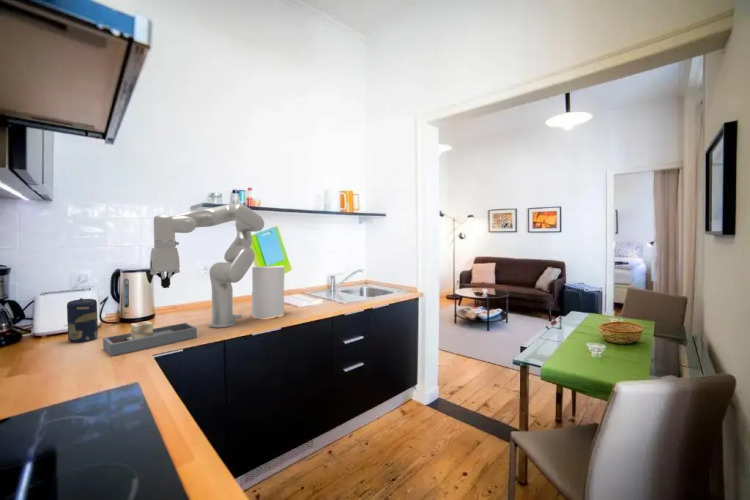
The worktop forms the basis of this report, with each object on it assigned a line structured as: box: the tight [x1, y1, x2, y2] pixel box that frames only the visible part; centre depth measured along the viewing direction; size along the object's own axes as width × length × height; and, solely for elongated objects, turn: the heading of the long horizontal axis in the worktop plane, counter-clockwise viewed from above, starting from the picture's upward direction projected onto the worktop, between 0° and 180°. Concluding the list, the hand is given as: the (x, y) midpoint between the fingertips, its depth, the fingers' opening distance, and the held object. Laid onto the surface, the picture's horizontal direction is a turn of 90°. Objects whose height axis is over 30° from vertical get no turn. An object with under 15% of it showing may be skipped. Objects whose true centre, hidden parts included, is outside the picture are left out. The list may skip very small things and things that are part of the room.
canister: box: [66, 297, 99, 343], centre depth 138 cm, size 10×10×18 cm
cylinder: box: [251, 265, 285, 318], centre depth 183 cm, size 17×17×28 cm
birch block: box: [130, 320, 154, 340], centre depth 132 cm, size 6×6×6 cm
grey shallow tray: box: [102, 322, 198, 358], centre depth 135 cm, size 30×12×4 cm, turn 140°
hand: (165, 287), depth 138 cm, fingers closed
